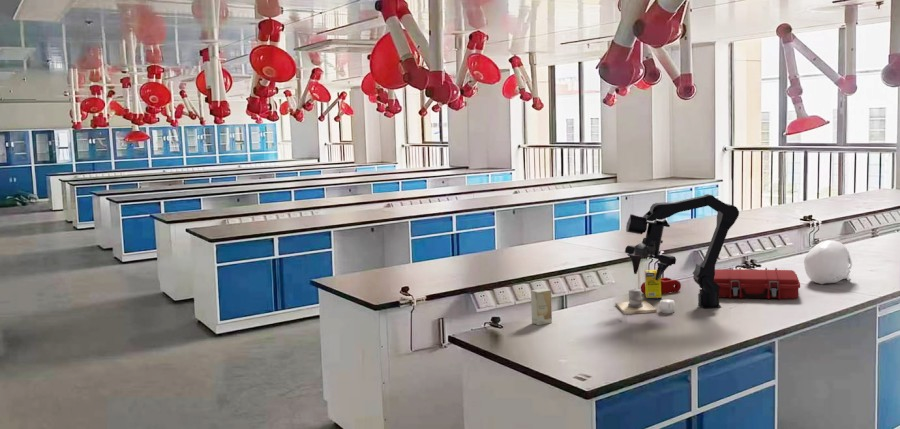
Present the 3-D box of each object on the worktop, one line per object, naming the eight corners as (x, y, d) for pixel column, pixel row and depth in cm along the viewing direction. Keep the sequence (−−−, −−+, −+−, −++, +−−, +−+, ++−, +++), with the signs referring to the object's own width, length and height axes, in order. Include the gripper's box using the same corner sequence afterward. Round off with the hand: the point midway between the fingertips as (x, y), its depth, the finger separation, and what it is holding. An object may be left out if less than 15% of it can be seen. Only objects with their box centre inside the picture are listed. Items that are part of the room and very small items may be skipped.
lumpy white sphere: (863, 269, 306) (852, 230, 295) (848, 304, 296) (835, 266, 286) (824, 265, 317) (811, 228, 307) (808, 299, 308) (794, 262, 298)
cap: (672, 309, 274) (671, 299, 274) (676, 313, 269) (676, 302, 268) (658, 310, 274) (658, 300, 274) (662, 313, 269) (662, 303, 268)
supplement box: (661, 299, 290) (661, 272, 289) (646, 299, 291) (645, 272, 290) (660, 296, 296) (659, 269, 294) (645, 296, 297) (644, 269, 296)
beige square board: (646, 303, 285) (645, 285, 285) (656, 312, 271) (656, 293, 271) (615, 305, 285) (614, 287, 285) (624, 314, 272) (623, 295, 271)
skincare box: (538, 325, 263) (536, 292, 262) (531, 323, 267) (529, 290, 266) (553, 322, 266) (551, 289, 265) (546, 320, 270) (544, 287, 269)
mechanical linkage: (670, 288, 309) (670, 276, 308) (681, 291, 302) (680, 279, 301) (637, 293, 304) (637, 281, 303) (647, 296, 297) (647, 284, 296)
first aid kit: (796, 288, 296) (795, 267, 295) (800, 302, 274) (800, 279, 273) (711, 286, 308) (711, 266, 307) (710, 299, 286) (709, 278, 285)
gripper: (620, 230, 275) (612, 271, 277) (664, 242, 262) (656, 284, 264) (636, 231, 283) (629, 270, 285) (680, 242, 269) (672, 283, 271)
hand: (645, 277), depth 276 cm, fingers open, 9 cm apart
